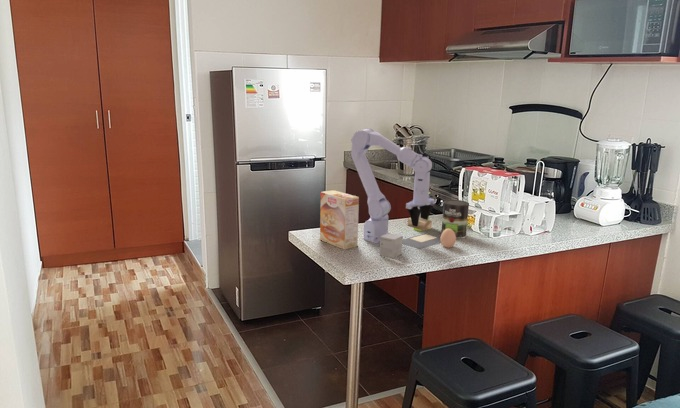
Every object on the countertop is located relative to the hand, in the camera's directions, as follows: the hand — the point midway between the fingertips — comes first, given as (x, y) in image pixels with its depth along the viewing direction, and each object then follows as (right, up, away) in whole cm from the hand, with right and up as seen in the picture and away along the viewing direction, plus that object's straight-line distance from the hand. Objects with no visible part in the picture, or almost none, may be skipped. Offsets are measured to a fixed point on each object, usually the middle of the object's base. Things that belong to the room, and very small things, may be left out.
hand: (419, 224), depth 199 cm
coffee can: (+17, -5, +16) cm, 24 cm away
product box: (-12, -11, -10) cm, 19 cm away
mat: (+2, -7, +6) cm, 9 cm away
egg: (+11, -9, 0) cm, 14 cm away
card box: (0, -1, 0) cm, 1 cm away
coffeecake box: (-31, -8, +2) cm, 32 cm away
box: (+5, -3, +25) cm, 25 cm away
